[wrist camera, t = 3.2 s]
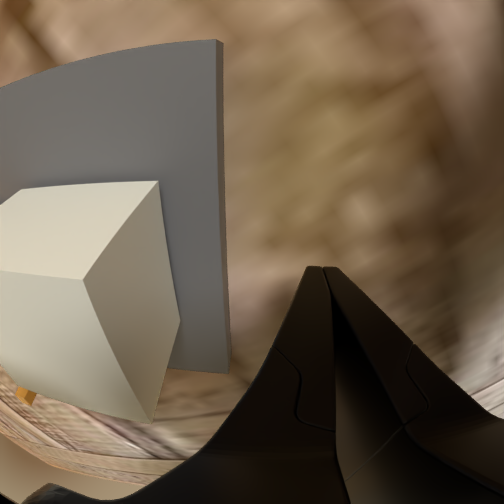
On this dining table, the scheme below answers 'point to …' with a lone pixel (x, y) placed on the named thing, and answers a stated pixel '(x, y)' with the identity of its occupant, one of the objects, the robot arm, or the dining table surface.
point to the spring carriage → (88, 295)
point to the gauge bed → (139, 162)
